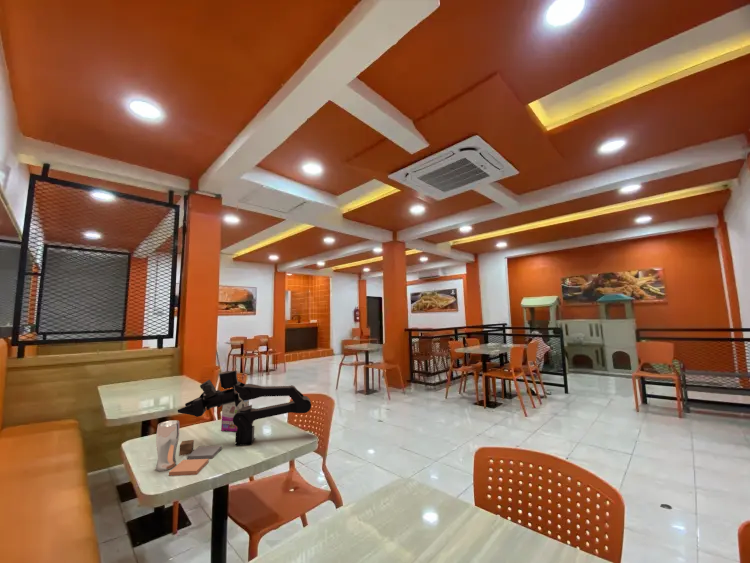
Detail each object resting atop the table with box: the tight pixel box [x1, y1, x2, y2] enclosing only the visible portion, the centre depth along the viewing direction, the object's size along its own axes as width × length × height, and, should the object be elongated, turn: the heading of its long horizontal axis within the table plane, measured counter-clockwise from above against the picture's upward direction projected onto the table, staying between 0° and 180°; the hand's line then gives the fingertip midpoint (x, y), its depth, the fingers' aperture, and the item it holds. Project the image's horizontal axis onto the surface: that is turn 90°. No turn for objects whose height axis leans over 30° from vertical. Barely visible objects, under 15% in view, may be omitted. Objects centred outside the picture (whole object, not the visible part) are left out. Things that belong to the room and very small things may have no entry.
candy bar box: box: [220, 393, 250, 433], centre depth 150 cm, size 11×5×16 cm, turn 81°
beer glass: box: [155, 419, 180, 472], centre depth 113 cm, size 7×7×15 cm
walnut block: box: [178, 439, 195, 456], centre depth 125 cm, size 4×4×4 cm
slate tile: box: [186, 445, 223, 460], centre depth 123 cm, size 9×9×1 cm
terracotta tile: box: [168, 459, 210, 477], centre depth 111 cm, size 9×9×1 cm
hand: (181, 407), depth 129 cm, fingers open, 9 cm apart
